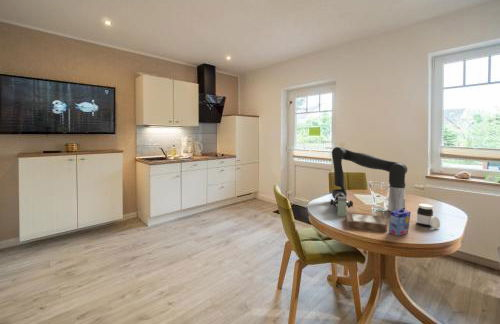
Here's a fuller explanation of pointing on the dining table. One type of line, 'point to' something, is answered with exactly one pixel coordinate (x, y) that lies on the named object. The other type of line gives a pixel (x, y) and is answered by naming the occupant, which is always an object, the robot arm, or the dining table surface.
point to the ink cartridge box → (399, 222)
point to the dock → (366, 222)
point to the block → (342, 206)
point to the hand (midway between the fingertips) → (342, 206)
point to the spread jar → (427, 216)
